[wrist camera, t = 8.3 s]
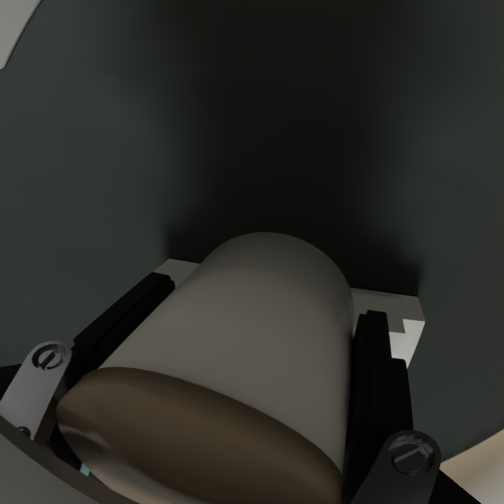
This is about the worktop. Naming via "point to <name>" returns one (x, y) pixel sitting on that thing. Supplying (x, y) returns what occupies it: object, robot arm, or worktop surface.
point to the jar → (227, 385)
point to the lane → (396, 306)
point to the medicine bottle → (13, 24)
